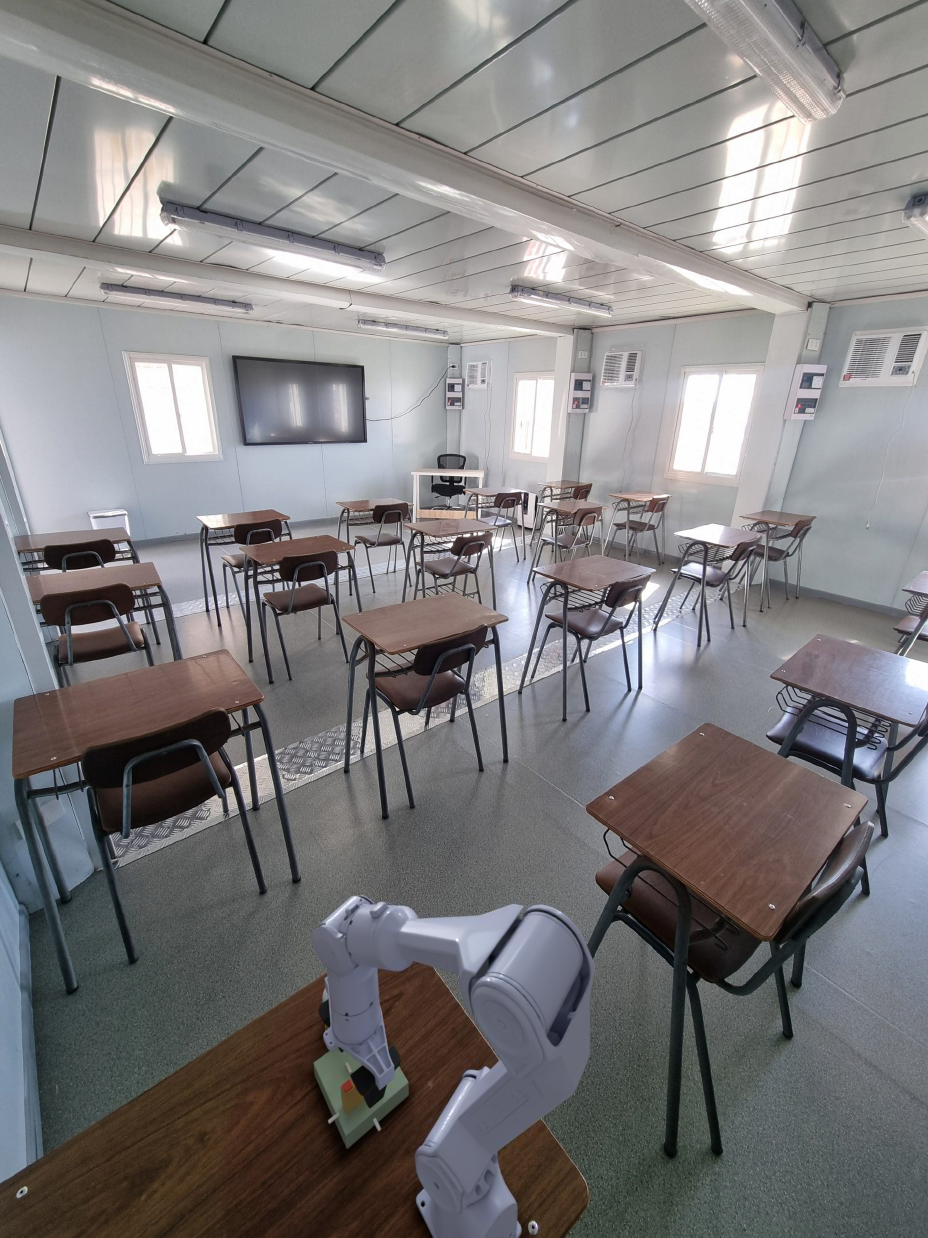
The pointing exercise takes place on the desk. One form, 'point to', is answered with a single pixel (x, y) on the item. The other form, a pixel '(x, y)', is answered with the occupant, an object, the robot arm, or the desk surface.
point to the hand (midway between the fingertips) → (360, 1071)
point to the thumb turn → (350, 1096)
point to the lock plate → (362, 1118)
